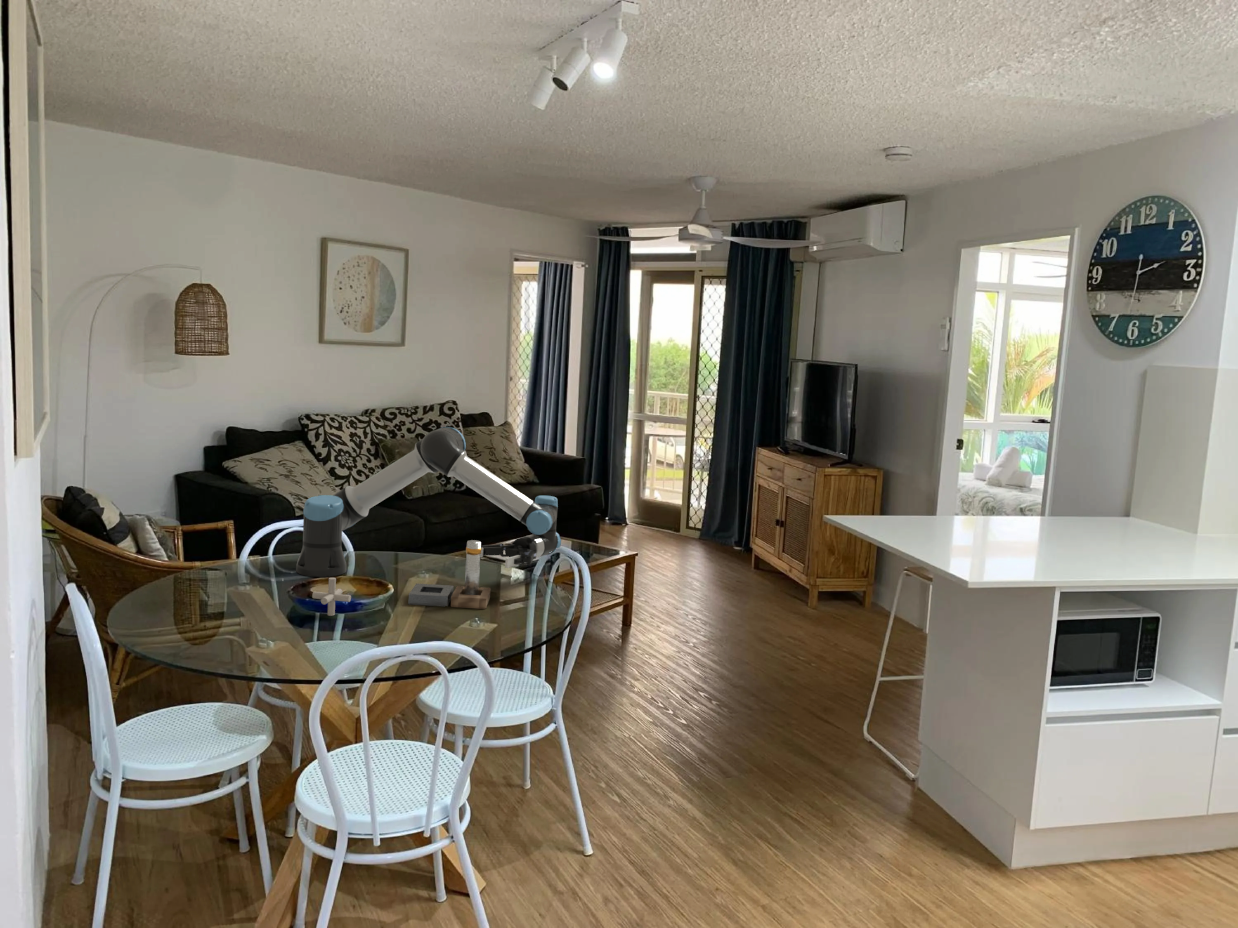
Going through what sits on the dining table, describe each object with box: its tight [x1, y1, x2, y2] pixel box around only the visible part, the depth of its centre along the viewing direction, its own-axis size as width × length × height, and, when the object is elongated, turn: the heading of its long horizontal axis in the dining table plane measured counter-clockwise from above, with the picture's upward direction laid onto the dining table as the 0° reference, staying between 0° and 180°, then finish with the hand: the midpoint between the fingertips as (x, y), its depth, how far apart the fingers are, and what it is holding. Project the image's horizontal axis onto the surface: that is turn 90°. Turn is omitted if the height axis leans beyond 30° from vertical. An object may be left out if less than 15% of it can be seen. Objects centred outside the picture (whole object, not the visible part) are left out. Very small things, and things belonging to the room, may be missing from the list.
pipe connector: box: [312, 577, 352, 617], centre depth 245 cm, size 10×10×10 cm
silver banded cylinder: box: [464, 539, 482, 595], centre depth 266 cm, size 4×4×18 cm
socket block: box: [407, 583, 454, 607], centre depth 266 cm, size 11×12×3 cm
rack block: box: [450, 585, 492, 610], centre depth 267 cm, size 10×12×3 cm
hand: (487, 559), depth 272 cm, fingers open, 13 cm apart
